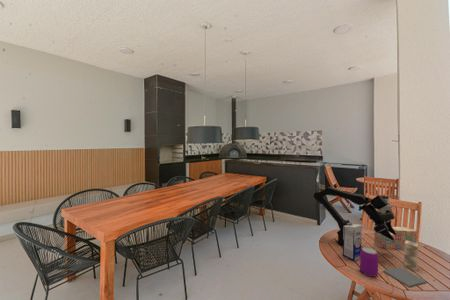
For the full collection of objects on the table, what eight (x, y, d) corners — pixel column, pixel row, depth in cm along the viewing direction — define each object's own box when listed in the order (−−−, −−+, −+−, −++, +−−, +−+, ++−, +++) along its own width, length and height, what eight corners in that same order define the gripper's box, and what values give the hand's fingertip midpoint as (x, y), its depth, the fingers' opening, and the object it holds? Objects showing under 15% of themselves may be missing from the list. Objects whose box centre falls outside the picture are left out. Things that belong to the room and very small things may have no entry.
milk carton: (353, 261, 118) (354, 227, 117) (342, 255, 124) (343, 222, 123) (361, 258, 121) (362, 224, 120) (349, 252, 127) (350, 220, 126)
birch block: (403, 266, 113) (404, 243, 112) (405, 262, 116) (406, 240, 116) (416, 270, 109) (417, 246, 109) (417, 266, 113) (418, 243, 112)
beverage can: (356, 270, 110) (357, 248, 109) (365, 266, 113) (366, 245, 112) (371, 279, 103) (372, 255, 102) (381, 275, 106) (381, 252, 105)
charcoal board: (408, 287, 97) (408, 285, 97) (383, 271, 108) (383, 270, 108) (426, 282, 100) (426, 281, 100) (400, 268, 112) (400, 266, 111)
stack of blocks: (380, 248, 132) (381, 229, 131) (374, 243, 138) (374, 225, 137) (416, 250, 130) (416, 231, 130) (408, 245, 136) (408, 226, 136)
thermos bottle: (392, 235, 151) (393, 197, 149) (386, 237, 147) (387, 198, 146) (380, 230, 158) (381, 194, 156) (374, 233, 154) (375, 195, 153)
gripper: (382, 210, 115) (407, 236, 108) (387, 203, 128) (409, 226, 121) (364, 219, 121) (387, 245, 114) (371, 212, 134) (391, 234, 127)
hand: (394, 237), depth 119 cm, fingers open, 9 cm apart
